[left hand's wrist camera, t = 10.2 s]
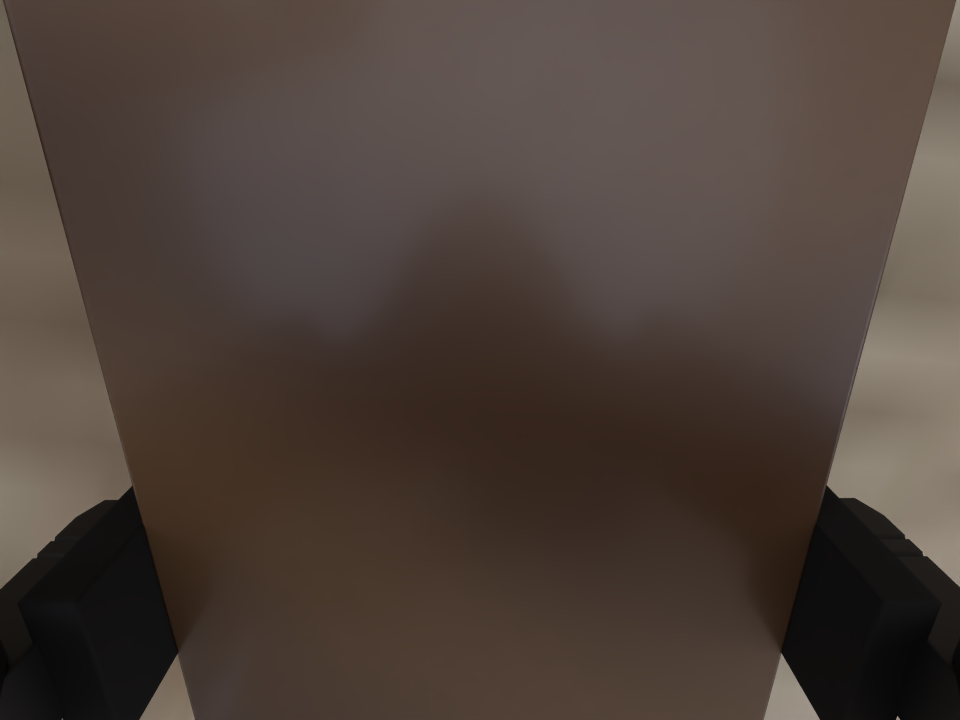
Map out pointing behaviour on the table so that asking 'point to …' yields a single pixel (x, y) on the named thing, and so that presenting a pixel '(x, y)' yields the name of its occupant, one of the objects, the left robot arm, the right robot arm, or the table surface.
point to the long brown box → (479, 329)
